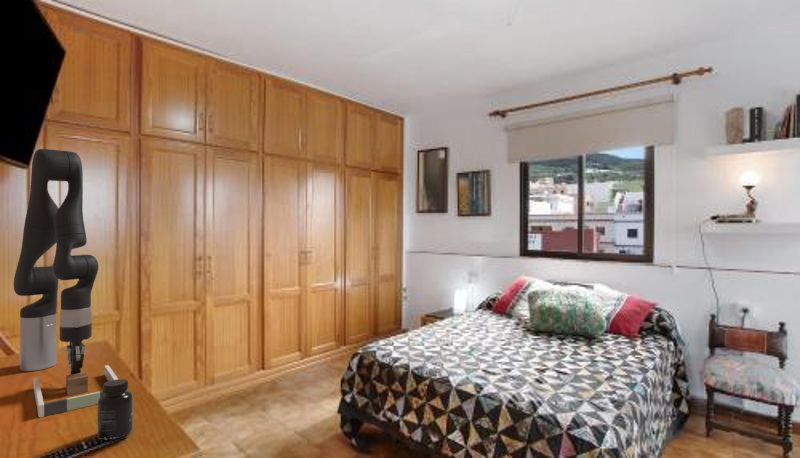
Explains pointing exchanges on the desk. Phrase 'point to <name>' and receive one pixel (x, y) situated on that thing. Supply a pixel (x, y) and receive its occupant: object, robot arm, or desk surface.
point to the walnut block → (76, 383)
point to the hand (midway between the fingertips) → (75, 381)
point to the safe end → (82, 401)
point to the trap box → (61, 405)
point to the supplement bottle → (115, 410)
